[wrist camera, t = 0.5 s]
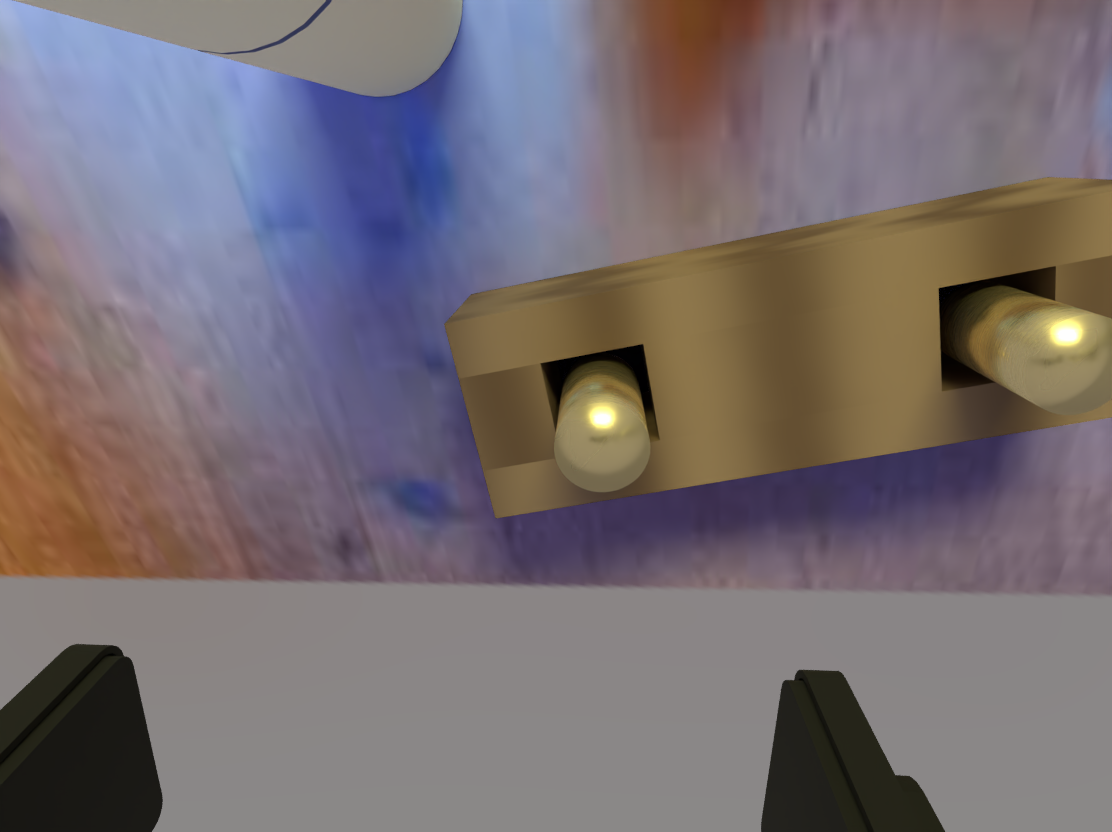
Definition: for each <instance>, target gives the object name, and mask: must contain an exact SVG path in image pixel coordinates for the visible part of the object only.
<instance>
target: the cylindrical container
mask: <svg viewBox="0 0 1112 832" xmlns="http://www.w3.org/2000/svg"><path fill="white" fill-rule="evenodd" d="M14 1H17V2H21V3H25V4H28V5H32V6H36V7H39V8H43V9H47V10H50V11H54V12H58V13H62V14H65V15H69V16H73V17H76V18H80V19H84V20H87V21H91V22H95V23H98V24H102V25H106V26H109V27H113V28H117V29H120V30H124V31H128V32H131V33H135V34H139V35H142V36H146V37H150V38H153V39H157V40H161V41H165V42H168V43H172V44H176V45H179V46H183V47H187V48H190V49H194V50H198V51H201V52H205V53H209V54H212V55H216V56H220V57H223V58H227V59H231V60H234V61H238V62H242V63H245V64H249V65H253V66H256V67H260V68H264V69H267V70H271V71H275V72H279V73H282V74H286V75H290V76H293V77H297V78H301V79H304V80H308V81H312V82H315V83H319V84H323V85H326V86H330V87H334V88H337V89H341V90H345V91H348V92H352V93H356V94H359V95H366V96H374V97H382V96H394V95H397V94H400V93H403V92H406V91H409V90H411V89H413V88H415V87H417V86H418V85H420V84H422V83H423V82H425V81H426V80H427V79H428V78H429V77H431V76H432V75H433V74H434V73H435V72H436V71H437V70H438V69H439V68H440V66H441V65H442V63H443V62H444V61H445V59H446V58H447V56H448V55H449V53H450V51H451V49H452V47H453V44H454V42H455V40H456V37H457V35H458V30H459V26H460V22H461V17H462V3H463V0H14Z"/></svg>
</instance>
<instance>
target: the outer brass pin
mask: <svg viewBox="0 0 1112 832" xmlns="http://www.w3.org/2000/svg"><path fill="white" fill-rule="evenodd" d="M554 453H555V458H556V462H557V464H558V466H559V468H560V470H561V472H562V473H563V474H564V475H565V477H566V478H567V479H569V480H570V481H571V482H572V483H574V484H575V485H577V486H579V487H580V488H583V489H586V490H589V491H593V492H611V491H616V490H619V489H622V488H624V487H626V486H628V485H629V484H631V483H632V482H634V481H635V480H636V479H637V478H638V477H639V476H640V475H641V474H642V472H643V471H644V469H645V467H646V465H647V463H648V460H649V456H650V439H649V434H648V429H647V423H646V418H645V413H644V408H643V403H642V398H641V392H640V387H639V382H638V378H637V376H636V374H635V372H634V370H633V369H632V367H631V366H630V365H629V364H628V363H627V362H626V361H624V360H623V359H621V358H620V357H618V356H615V355H612V354H608V353H594V354H590V355H587V356H584V357H582V358H581V359H579V360H578V361H576V362H575V363H574V364H573V365H572V366H571V367H570V368H569V370H568V371H567V373H566V375H565V378H564V381H563V386H562V393H561V400H560V407H559V414H558V421H557V428H556V435H555V442H554Z"/></svg>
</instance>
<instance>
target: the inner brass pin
mask: <svg viewBox="0 0 1112 832" xmlns="http://www.w3.org/2000/svg"><path fill="white" fill-rule="evenodd" d="M939 319H940V349H941V350H942V351H943V352H944V353H945V354H946V355H948V356H950V357H951V358H953V359H955V360H957V361H958V362H960V363H962V364H964V365H966V366H967V367H969V368H971V369H973V370H975V371H976V372H978V373H980V374H982V375H983V376H985V377H987V378H989V379H991V380H992V381H994V382H996V383H998V384H1000V385H1001V386H1003V387H1005V388H1007V389H1009V390H1010V391H1012V392H1014V393H1016V394H1017V395H1019V396H1021V397H1023V398H1025V399H1026V400H1028V401H1030V402H1032V403H1034V404H1035V405H1037V406H1039V407H1041V408H1043V409H1044V410H1046V411H1049V412H1051V413H1055V414H1060V415H1076V414H1082V413H1086V412H1089V411H1092V410H1094V409H1096V408H1098V407H1100V406H1102V405H1104V404H1105V403H1107V402H1108V401H1109V400H1111V399H1112V319H1111V318H1108V317H1105V316H1102V315H1099V314H1095V313H1092V312H1089V311H1086V310H1083V309H1079V308H1076V307H1073V306H1070V305H1066V304H1063V303H1060V302H1057V301H1053V300H1050V299H1047V298H1044V297H1041V296H1037V295H1034V294H1031V293H1028V292H1024V291H1021V290H1018V289H1015V288H1012V287H1008V286H1005V285H1002V284H999V283H995V282H992V281H975V282H971V283H968V284H965V285H963V286H961V287H959V288H957V289H956V290H954V291H953V292H952V293H950V294H949V295H948V296H947V297H946V298H945V299H944V301H943V302H942V303H941V305H940V306H939Z"/></svg>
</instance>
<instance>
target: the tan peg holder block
mask: <svg viewBox="0 0 1112 832" xmlns="http://www.w3.org/2000/svg"><path fill="white" fill-rule="evenodd" d="M975 281H992V282H995V283H999V284H1002V285H1005V286H1008V287H1012V288H1015V289H1018V290H1021V291H1024V292H1028V293H1031V294H1034V295H1037V296H1041V297H1044V298H1047V299H1050V300H1053V301H1057V302H1060V303H1063V304H1066V305H1070V306H1073V307H1076V308H1079V309H1083V310H1086V311H1089V312H1092V313H1095V314H1099V315H1102V316H1105V317H1108V318H1111V319H1112V180H1103V179H1079V178H1054V177H1047V178H1042V179H1037V180H1032V181H1027V182H1022V183H1017V184H1012V185H1008V186H1003V187H998V188H993V189H988V190H983V191H978V192H973V193H968V194H963V195H958V196H953V197H948V198H944V199H939V200H934V201H929V202H924V203H919V204H914V205H909V206H904V207H899V208H894V209H889V210H884V211H879V212H875V213H870V214H865V215H860V216H855V217H850V218H845V219H840V220H835V221H830V222H825V223H820V224H815V225H810V226H806V227H801V228H796V229H791V230H786V231H781V232H776V233H771V234H766V235H761V236H756V237H751V238H746V239H741V240H737V241H732V242H727V243H722V244H717V245H712V246H707V247H702V248H697V249H692V250H687V251H682V252H677V253H672V254H668V255H663V256H658V257H653V258H648V259H643V260H638V261H633V262H628V263H623V264H618V265H613V266H608V267H603V268H599V269H594V270H589V271H584V272H579V273H574V274H569V275H564V276H559V277H554V278H549V279H544V280H539V281H535V282H530V283H525V284H520V285H515V286H510V287H505V288H500V289H495V290H490V291H485V292H480V293H475V294H471V295H470V296H469V297H468V299H467V300H466V301H465V302H464V303H463V304H462V305H461V306H460V307H459V308H458V309H457V311H456V312H455V313H454V314H453V315H452V316H451V317H450V318H449V319H448V320H447V322H446V323H445V324H444V325H445V329H446V333H447V336H448V340H449V344H450V348H451V352H452V355H453V359H454V363H455V367H456V370H457V374H458V378H459V382H460V386H461V389H462V393H463V397H464V401H465V405H466V408H467V412H468V416H469V420H470V423H471V427H472V431H473V435H474V439H475V442H476V446H477V450H478V454H479V458H480V461H481V465H482V469H483V473H484V476H485V480H486V484H487V488H488V492H489V495H490V499H491V503H492V507H493V511H494V514H495V518H501V517H507V516H514V515H520V514H526V513H532V512H538V511H544V510H550V509H556V508H562V507H568V506H575V505H581V504H587V503H593V502H599V501H605V500H611V499H617V498H623V497H629V496H635V495H642V494H648V493H654V492H660V491H666V490H672V489H678V488H684V487H690V486H696V485H703V484H709V483H715V482H721V481H727V480H733V479H739V478H745V477H751V476H757V475H763V474H770V473H776V472H782V471H788V470H794V469H800V468H806V467H812V466H818V465H824V464H831V463H837V462H843V461H849V460H855V459H861V458H867V457H873V456H879V455H885V454H891V453H898V452H904V451H910V450H916V449H922V448H928V447H934V446H940V445H946V444H952V443H959V442H965V441H971V440H977V439H983V438H989V437H995V436H1001V435H1007V434H1013V433H1019V432H1026V431H1032V430H1038V429H1044V428H1050V427H1056V426H1062V425H1068V424H1074V423H1080V422H1086V421H1093V420H1099V419H1105V418H1111V417H1112V399H1111V400H1109V401H1108V402H1107V403H1105V404H1104V405H1102V406H1100V407H1098V408H1096V409H1094V410H1092V411H1089V412H1086V413H1082V414H1076V415H1060V414H1055V413H1051V412H1049V411H1046V410H1044V409H1043V408H1041V407H1039V406H1037V405H1035V404H1034V403H1032V402H1030V401H1028V400H1026V399H1025V398H1023V397H1021V396H1019V395H1017V394H1016V393H1014V392H1012V391H1010V390H1009V389H1007V388H1005V387H1003V386H1001V385H1000V384H998V383H996V382H994V381H992V380H991V379H989V378H987V377H985V376H983V375H982V374H980V373H978V372H976V371H975V370H973V369H971V368H969V367H967V366H966V365H964V364H962V363H960V362H958V361H957V360H955V359H953V358H951V357H950V356H948V355H946V354H945V353H944V352H943V351H942V350H941V349H940V319H939V288H942V287H947V286H952V285H957V284H963V283H968V282H969V283H971V282H975ZM640 344H641V350H642V356H643V362H644V367H645V373H646V379H647V385H648V390H649V392H643V393H641V398H642V403H643V408H644V413H645V418H646V423H647V429H648V434H649V439H650V456H649V460H648V463H647V465H646V467H645V469H644V471H643V472H642V474H641V475H640V476H639V477H638V478H637V479H636V480H635V481H634V482H632V483H631V484H629V485H628V486H626V487H624V488H622V489H619V490H616V491H611V492H593V491H589V490H586V489H583V488H580V487H579V486H577V485H575V484H574V483H572V482H571V481H570V480H569V479H567V478H566V477H565V475H564V474H563V473H562V472H561V470H560V468H559V466H558V464H557V462H556V458H555V453H554V442H555V435H556V428H557V421H558V414H559V407H560V400H561V393H562V386H563V385H562V381H561V376H560V371H559V367H558V362H557V360H560V359H566V358H571V357H576V356H582V355H587V354H592V353H598V352H603V351H608V350H613V349H619V348H624V347H629V346H635V345H640Z"/></svg>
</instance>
